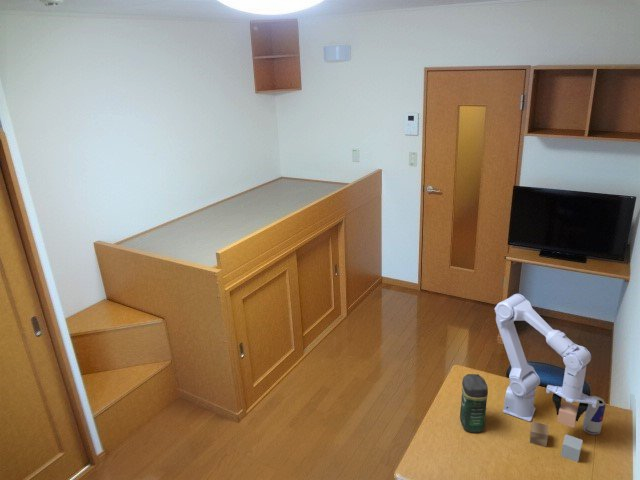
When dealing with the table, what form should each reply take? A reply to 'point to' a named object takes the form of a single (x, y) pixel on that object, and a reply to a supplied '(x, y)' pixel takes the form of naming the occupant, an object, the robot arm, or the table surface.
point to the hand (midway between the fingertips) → (567, 416)
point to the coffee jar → (473, 403)
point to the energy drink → (594, 417)
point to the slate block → (571, 448)
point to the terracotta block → (567, 414)
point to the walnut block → (539, 434)
